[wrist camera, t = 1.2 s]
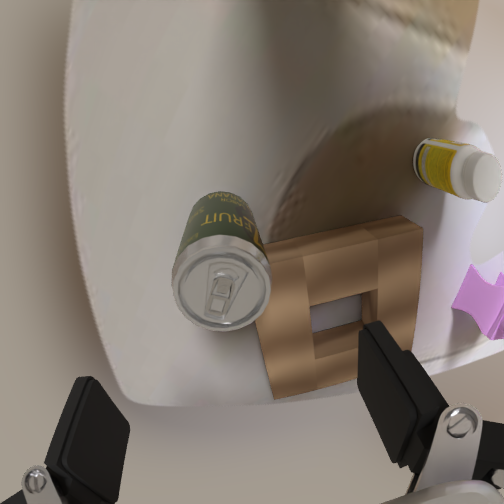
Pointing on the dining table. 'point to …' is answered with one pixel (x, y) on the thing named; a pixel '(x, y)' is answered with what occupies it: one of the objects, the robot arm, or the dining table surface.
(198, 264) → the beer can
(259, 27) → the dining table surface
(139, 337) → the dining table surface
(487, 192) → the supplement bottle
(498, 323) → the toy chair
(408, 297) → the holder block
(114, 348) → the dining table surface
